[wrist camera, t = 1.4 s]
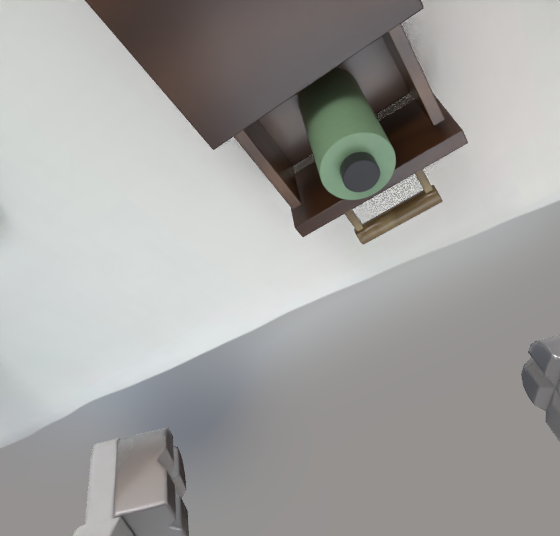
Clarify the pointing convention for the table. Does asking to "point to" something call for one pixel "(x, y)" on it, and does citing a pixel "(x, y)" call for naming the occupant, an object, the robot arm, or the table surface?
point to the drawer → (397, 126)
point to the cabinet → (244, 50)
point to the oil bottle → (345, 137)
